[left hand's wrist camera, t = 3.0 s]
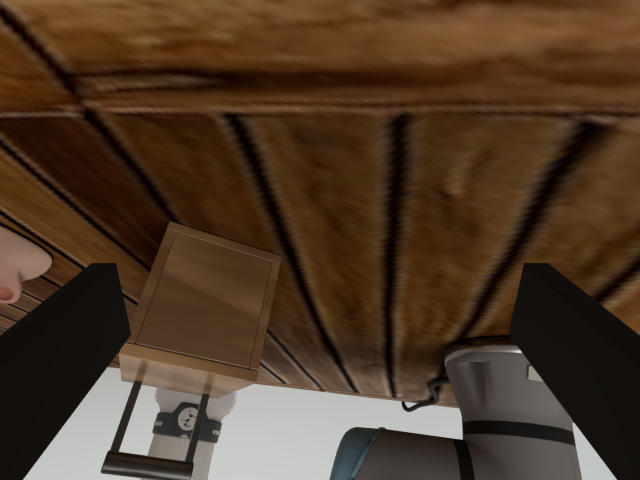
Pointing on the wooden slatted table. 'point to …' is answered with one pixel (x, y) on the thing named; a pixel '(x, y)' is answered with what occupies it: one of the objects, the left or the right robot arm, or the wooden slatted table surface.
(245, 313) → the chest
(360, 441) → the left robot arm
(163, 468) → the lid
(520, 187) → the wooden slatted table surface
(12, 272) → the anatomical model
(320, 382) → the wooden slatted table surface
